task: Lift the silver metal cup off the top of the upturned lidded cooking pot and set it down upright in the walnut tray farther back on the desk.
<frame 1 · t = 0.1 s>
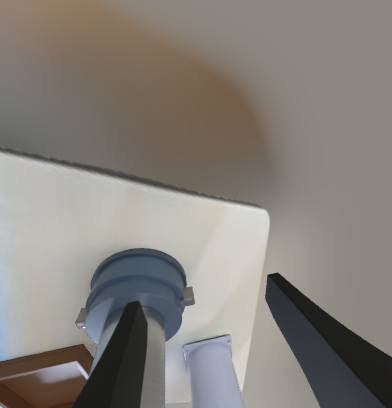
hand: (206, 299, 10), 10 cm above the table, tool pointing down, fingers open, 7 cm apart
lidded cooking pot: (141, 283, 23), on the table
cup: (135, 325, 18), point 5 cm above the table, touching lidded cooking pot
tray: (58, 379, 29), on the table
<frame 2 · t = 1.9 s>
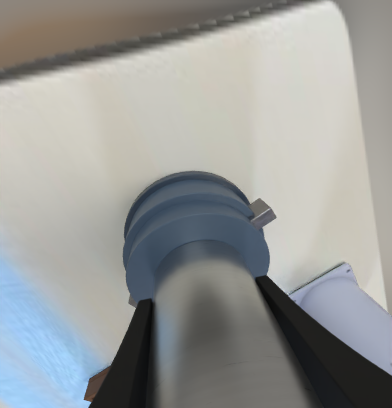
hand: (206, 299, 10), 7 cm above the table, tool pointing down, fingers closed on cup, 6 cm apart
lidded cooking pot: (191, 232, 16), on the table
cup: (201, 276, 12), point 5 cm above the table, touching lidded cooking pot, gripper
tray: (167, 373, 26), on the table
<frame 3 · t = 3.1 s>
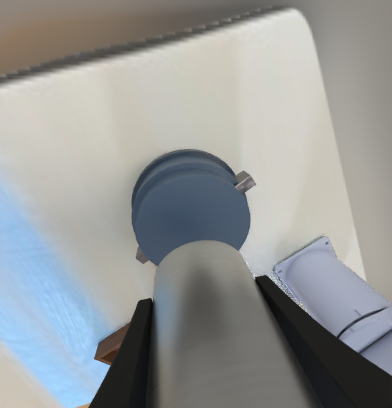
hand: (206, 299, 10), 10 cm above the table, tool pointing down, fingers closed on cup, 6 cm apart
lidded cooking pot: (188, 203, 19), on the table
cup: (201, 276, 12), point 9 cm above the table, touching gripper
tray: (167, 340, 29), on the table
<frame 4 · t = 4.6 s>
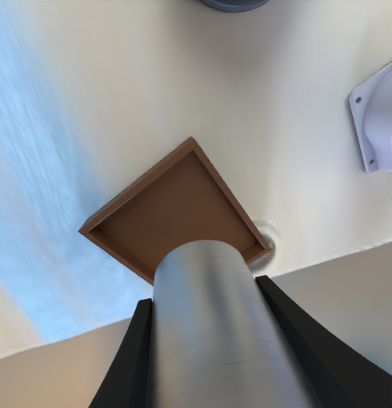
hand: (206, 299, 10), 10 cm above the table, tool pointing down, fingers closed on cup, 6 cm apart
cup: (201, 276, 12), point 9 cm above the table, touching gripper
tray: (184, 231, 21), on the table
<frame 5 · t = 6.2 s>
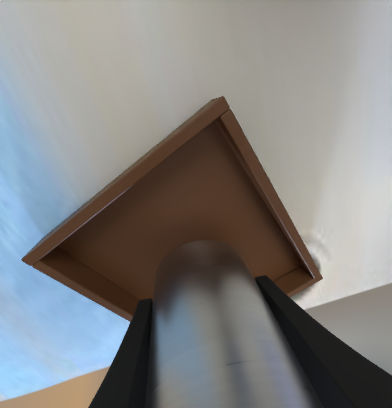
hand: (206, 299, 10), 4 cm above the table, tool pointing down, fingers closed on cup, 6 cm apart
cup: (201, 276, 12), point 2 cm above the table, touching gripper
tray: (196, 251, 14), on the table
when the fingers open (2 cm above the table, at t = 7.4 s): cup stays where it is, resting on tray.
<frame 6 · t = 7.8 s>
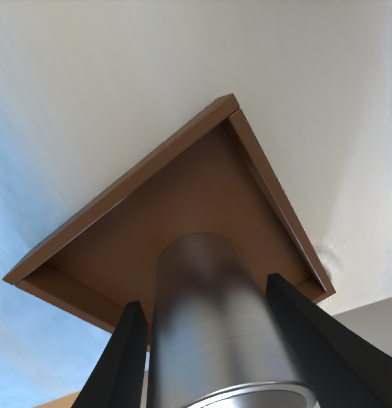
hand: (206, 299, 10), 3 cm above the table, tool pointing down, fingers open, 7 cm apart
cup: (199, 268, 12), resting on tray
tray: (198, 263, 13), on the table
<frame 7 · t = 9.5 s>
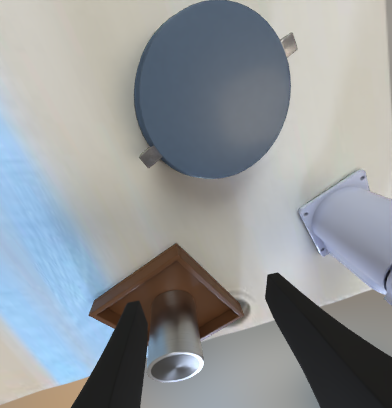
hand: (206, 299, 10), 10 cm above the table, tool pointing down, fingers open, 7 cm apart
lidded cooking pot: (203, 108, 15), on the table
cup: (173, 304, 25), resting on tray
tray: (173, 301, 25), on the table
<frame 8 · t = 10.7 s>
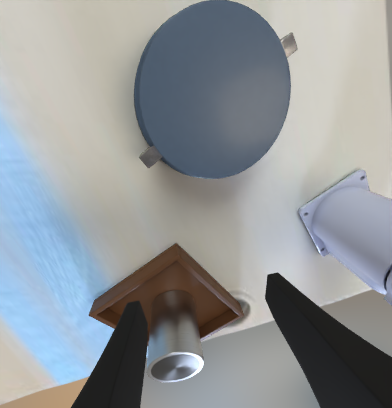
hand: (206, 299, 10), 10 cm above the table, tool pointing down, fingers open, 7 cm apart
lidded cooking pot: (203, 108, 15), on the table
cup: (173, 304, 25), resting on tray
tray: (173, 301, 25), on the table
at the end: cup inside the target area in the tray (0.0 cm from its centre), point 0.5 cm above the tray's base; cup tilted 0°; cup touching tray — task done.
